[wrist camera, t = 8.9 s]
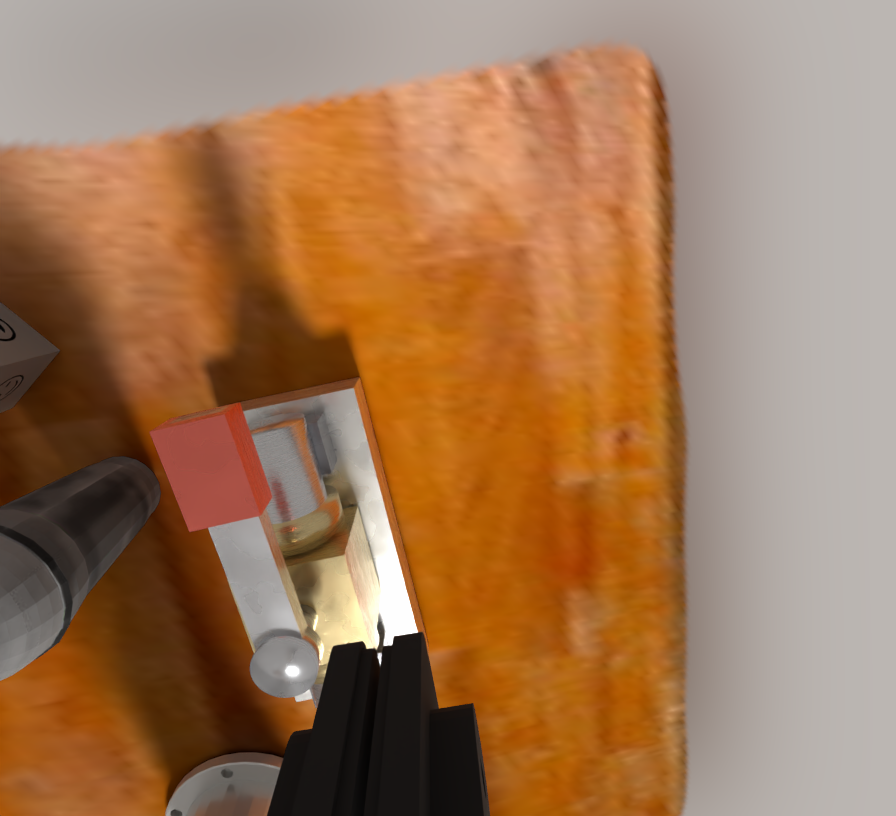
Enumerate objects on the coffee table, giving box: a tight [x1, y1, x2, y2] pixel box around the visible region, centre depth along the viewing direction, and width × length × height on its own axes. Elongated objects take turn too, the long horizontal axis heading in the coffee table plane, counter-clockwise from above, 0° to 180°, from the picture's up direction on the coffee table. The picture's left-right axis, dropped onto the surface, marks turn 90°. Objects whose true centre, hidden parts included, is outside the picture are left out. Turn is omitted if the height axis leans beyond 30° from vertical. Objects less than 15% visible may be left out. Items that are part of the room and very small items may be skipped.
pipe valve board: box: [217, 377, 429, 708], centre depth 31 cm, size 20×9×11 cm, turn 12°
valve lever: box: [150, 402, 323, 698], centre depth 24 cm, size 14×3×2 cm, turn 13°
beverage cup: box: [0, 457, 161, 681], centre depth 26 cm, size 7×7×20 cm
